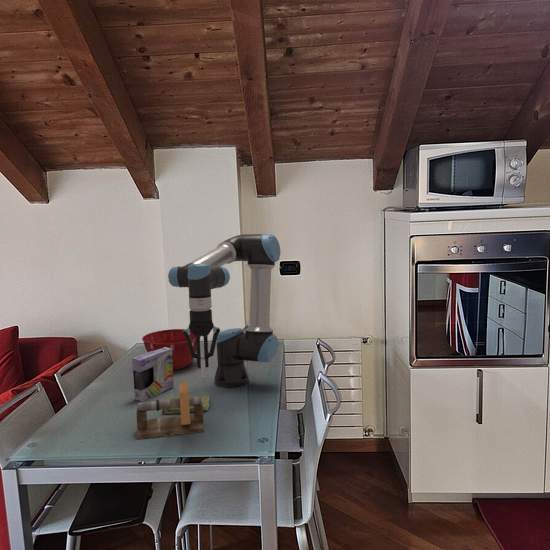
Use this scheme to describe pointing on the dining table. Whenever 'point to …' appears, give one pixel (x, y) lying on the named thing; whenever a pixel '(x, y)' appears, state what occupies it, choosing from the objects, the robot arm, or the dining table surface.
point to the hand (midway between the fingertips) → (203, 376)
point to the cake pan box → (152, 373)
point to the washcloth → (177, 410)
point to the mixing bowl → (172, 345)
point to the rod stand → (168, 418)
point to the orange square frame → (184, 403)
